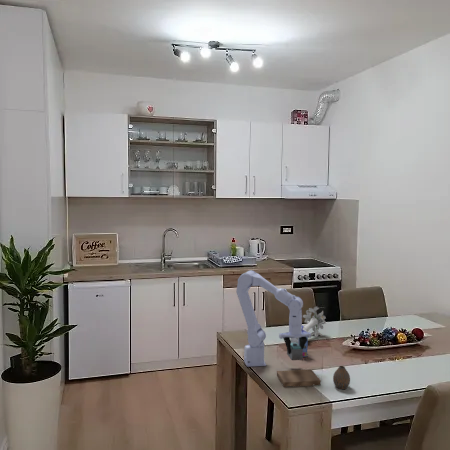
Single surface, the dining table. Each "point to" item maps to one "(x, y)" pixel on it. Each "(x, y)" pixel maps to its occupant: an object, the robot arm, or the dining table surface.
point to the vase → (341, 378)
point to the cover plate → (295, 346)
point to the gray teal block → (296, 354)
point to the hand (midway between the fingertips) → (294, 353)
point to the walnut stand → (298, 378)
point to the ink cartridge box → (296, 340)
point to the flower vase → (314, 321)
